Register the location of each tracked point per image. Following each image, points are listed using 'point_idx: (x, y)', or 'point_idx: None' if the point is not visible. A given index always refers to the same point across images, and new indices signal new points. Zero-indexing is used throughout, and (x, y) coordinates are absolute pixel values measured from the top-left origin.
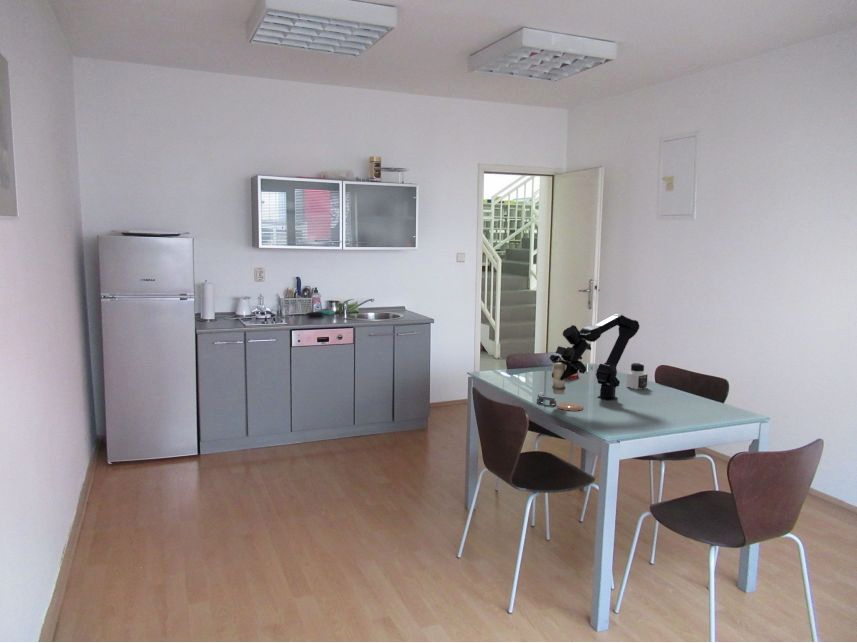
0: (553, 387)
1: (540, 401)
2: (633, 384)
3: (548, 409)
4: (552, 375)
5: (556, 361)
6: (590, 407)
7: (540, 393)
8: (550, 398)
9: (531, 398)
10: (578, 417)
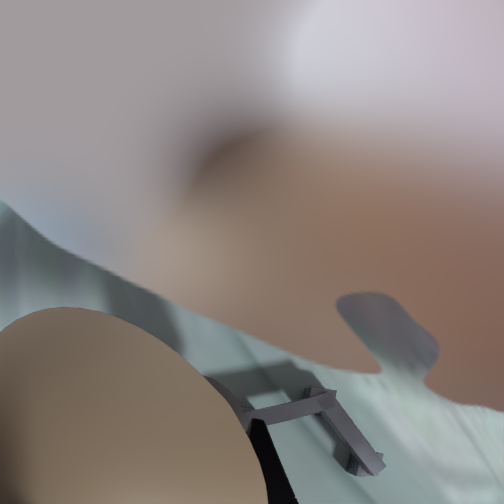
0: (208, 377)
1: (307, 391)
2: None
3: (204, 326)
4: (263, 427)
5: None
6: None
7: (360, 441)
8: (252, 410)
9: (392, 426)
10: (54, 297)
